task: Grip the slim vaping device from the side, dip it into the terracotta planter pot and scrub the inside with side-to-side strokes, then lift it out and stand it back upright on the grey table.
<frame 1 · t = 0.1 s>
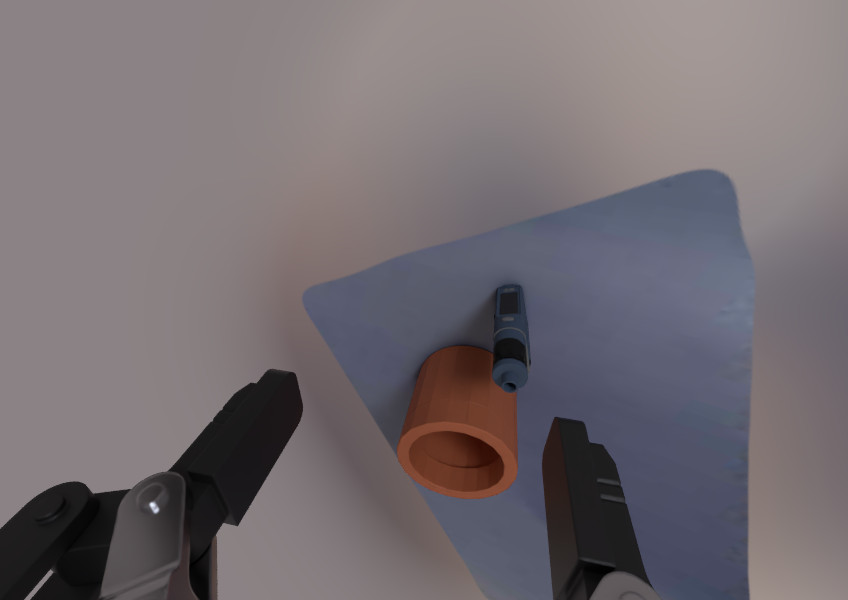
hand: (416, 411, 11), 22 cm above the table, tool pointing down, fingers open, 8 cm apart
vaping device: (511, 304, 34), on the table
terracotta planter pot: (466, 383, 40), on the table
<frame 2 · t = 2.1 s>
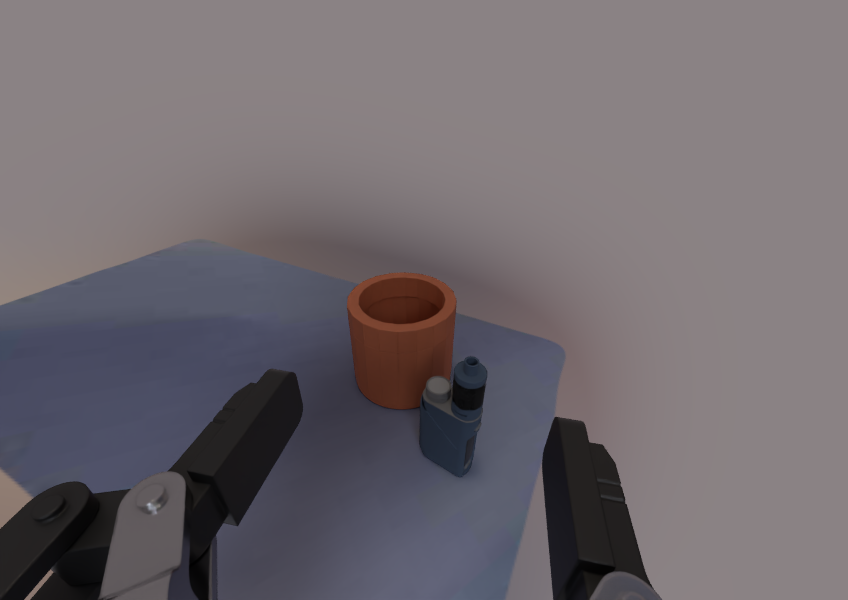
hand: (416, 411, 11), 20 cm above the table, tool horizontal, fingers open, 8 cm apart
vaping device: (446, 457, 32), on the table
terracotta planter pot: (403, 372, 41), on the table
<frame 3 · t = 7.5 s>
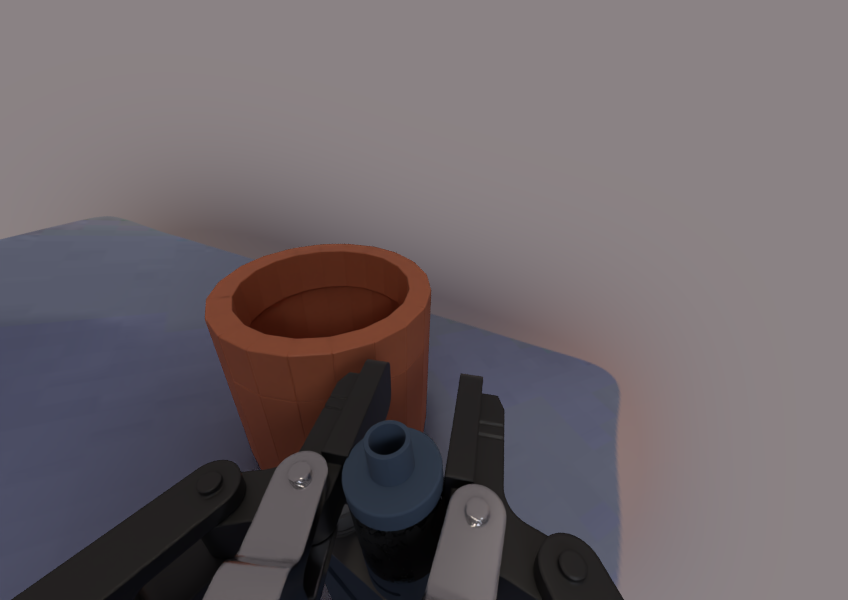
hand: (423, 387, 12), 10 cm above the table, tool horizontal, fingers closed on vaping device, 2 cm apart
terracotta planter pot: (342, 419, 23), on the table
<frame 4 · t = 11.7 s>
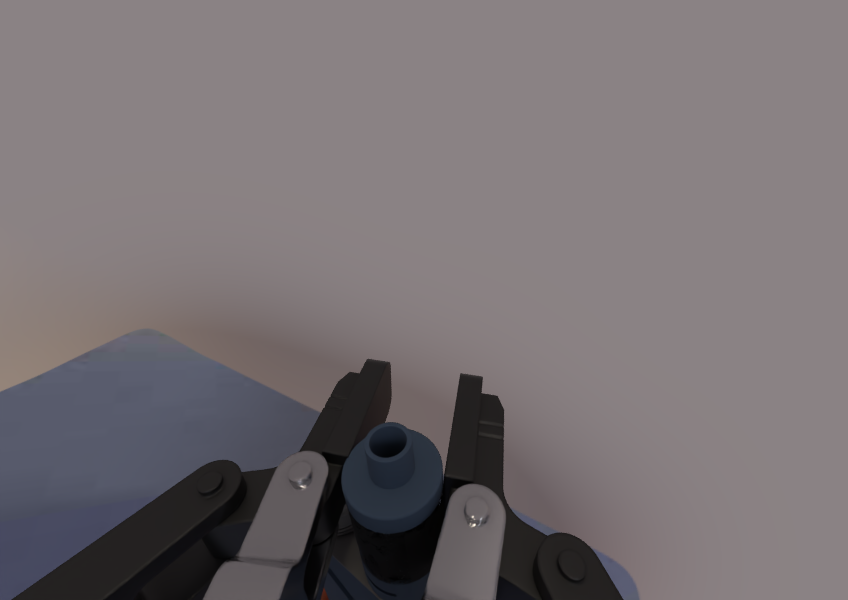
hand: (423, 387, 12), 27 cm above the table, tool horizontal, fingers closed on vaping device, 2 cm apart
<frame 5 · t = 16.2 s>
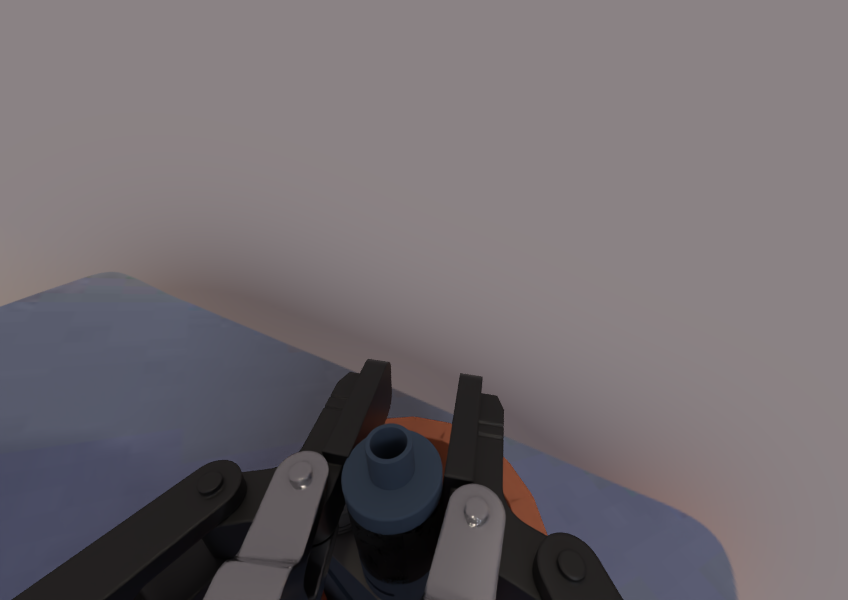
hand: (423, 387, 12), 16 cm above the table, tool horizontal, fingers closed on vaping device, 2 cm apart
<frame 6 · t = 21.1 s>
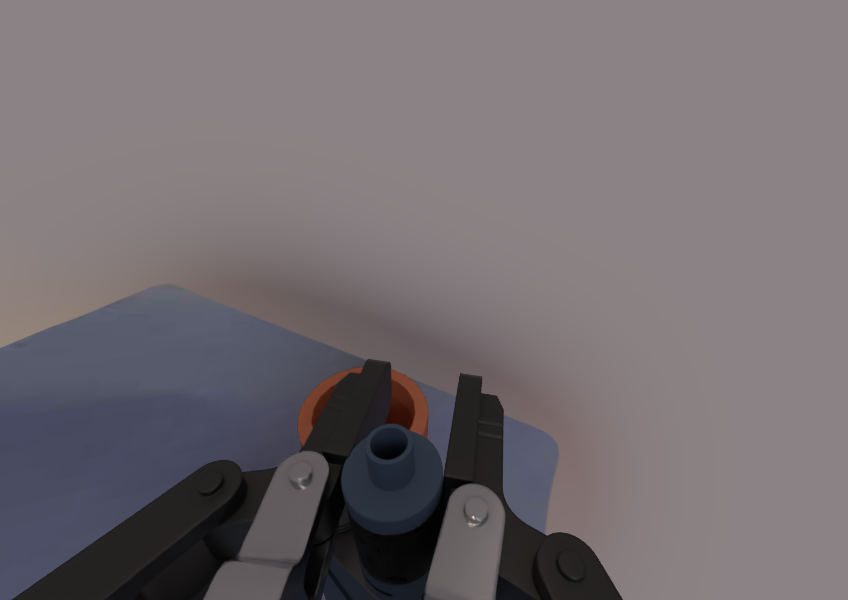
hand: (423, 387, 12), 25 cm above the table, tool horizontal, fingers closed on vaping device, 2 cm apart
terracotta planter pot: (371, 479, 36), on the table
when the fingers open (10 cm above the table, at t = 25.3 s): vaping device stays where it is, on the table.
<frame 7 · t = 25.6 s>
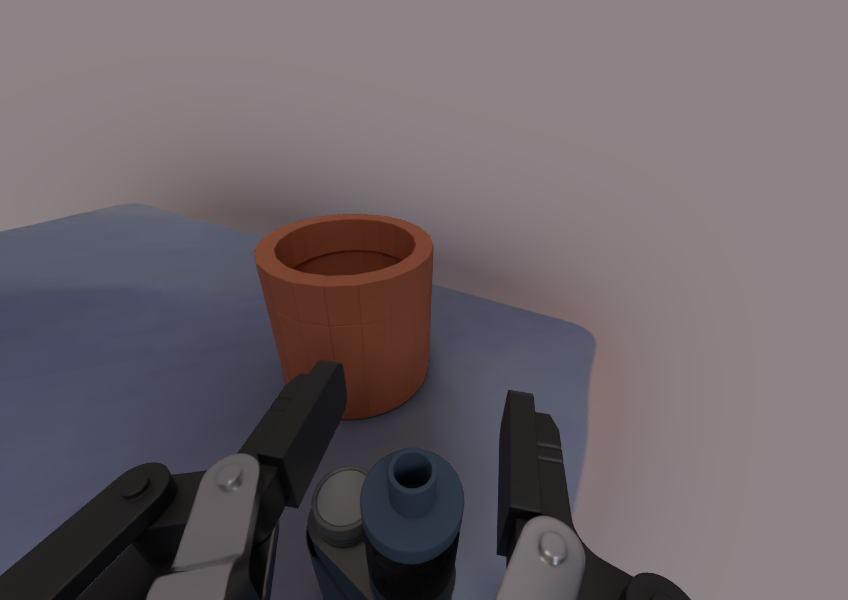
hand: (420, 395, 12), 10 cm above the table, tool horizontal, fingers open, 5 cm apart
terracotta planter pot: (358, 363, 28), on the table
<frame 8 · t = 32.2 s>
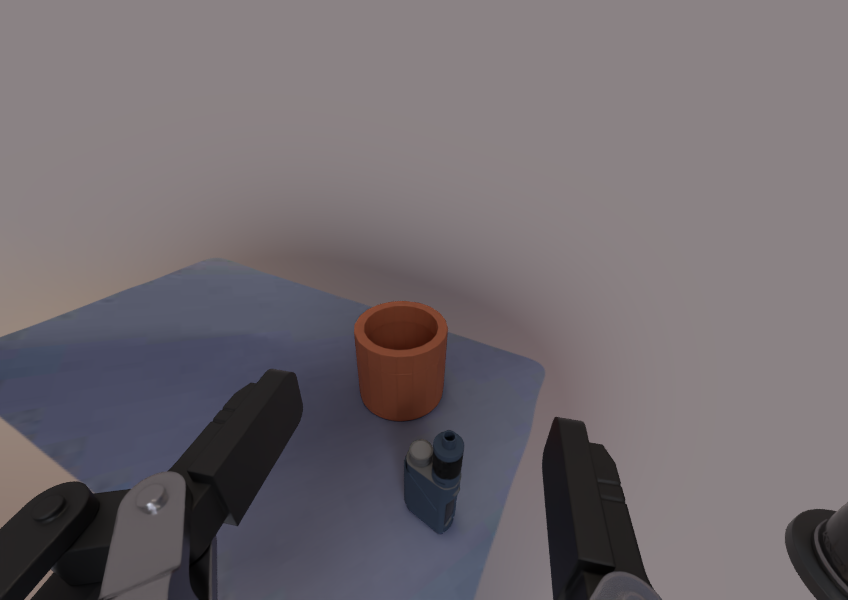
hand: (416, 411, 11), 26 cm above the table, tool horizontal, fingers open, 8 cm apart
vaping device: (429, 511, 34), on the table
terracotta planter pot: (401, 387, 47), on the table
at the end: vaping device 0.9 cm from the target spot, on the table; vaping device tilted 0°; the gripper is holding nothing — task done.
